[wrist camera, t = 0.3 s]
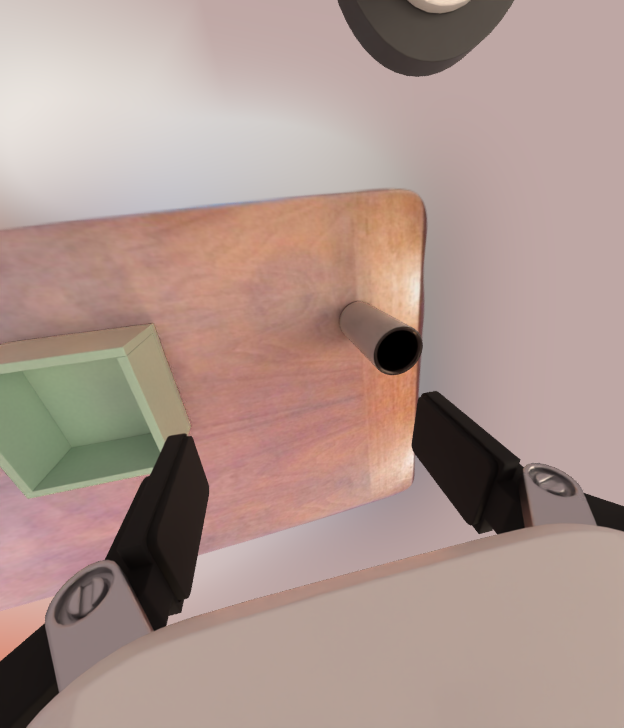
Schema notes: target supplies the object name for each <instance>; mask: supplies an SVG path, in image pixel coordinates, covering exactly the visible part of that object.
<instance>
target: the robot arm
mask: <svg viewBox="0 0 624 728" xmlns="http://www.w3.org/2000/svg"><path fill="white" fill-rule="evenodd" d="M407 1H409V2H410V3H411V4H412V5H414V6H415V7H417V8H419V9H421V10H424V11H426V12H430V13H439V14H441V13H446V12H451V11H454V10H456V9H458V8H460V7H462V6H464V5H466V4H467V3H468V2H469V1H470V0H407ZM412 449H413V452H414V453H415V455H416V456H417V457H418V458H419V460H420V461H421V463H422V464H423V465H424V466H425V468H426V469H427V471H428V472H429V473H430V475H431V476H432V477H433V479H434V480H435V481H436V483H437V484H438V485H439V487H440V488H441V489H442V491H443V492H444V493H445V495H446V496H447V497H448V499H449V500H450V501H451V503H452V504H453V505H454V507H455V508H456V509H457V511H458V512H459V513H460V515H461V516H462V517H463V519H464V520H465V521H466V523H468V524H469V525H472V526H473V527H474V528H475V530H476V531H477V532H478V534H481V533H485V532H489V531H492V529H493V530H494V531H495V532H496V533H497V534H498V535H494V536H489V537H485V538H481V539H477V540H474V541H470V542H466V543H462V544H459V545H454V546H450V547H447V548H443V549H439V550H435V551H431V552H428V553H424V554H420V555H416V556H412V557H408V558H405V559H401V560H398V561H393V562H390V563H386V564H383V565H378V566H375V567H371V568H367V569H364V570H360V571H356V572H352V573H348V574H345V575H341V576H337V577H334V578H330V579H326V580H323V581H319V582H315V583H311V584H308V585H304V586H301V587H297V588H293V589H289V590H286V591H282V592H279V593H275V594H271V595H268V596H264V597H260V598H257V599H253V600H249V601H246V602H242V603H239V604H236V605H232V606H229V607H225V608H222V609H218V610H215V611H212V612H208V613H205V614H201V615H198V616H195V617H191V618H189V619H186V620H183V621H180V622H177V623H174V624H171V625H168V626H166V625H167V620H168V616H170V615H174V614H178V613H181V611H182V606H183V602H184V599H187V598H188V597H189V595H190V592H191V588H192V583H193V577H194V572H195V566H196V561H197V556H198V551H199V545H200V540H201V535H202V529H203V524H204V518H205V513H206V508H207V502H208V497H209V485H208V481H207V479H206V476H205V473H204V470H203V467H202V464H201V461H200V458H199V455H198V452H197V449H196V446H195V443H194V440H193V438H192V436H187V434H186V433H183V434H177V435H171V436H168V437H167V439H166V441H165V443H164V446H163V448H162V450H161V452H160V454H159V457H158V459H157V461H156V463H155V465H154V468H153V470H152V472H151V474H150V476H148V477H146V478H145V479H144V480H143V481H142V483H141V485H140V487H139V489H138V491H137V493H136V495H135V498H134V500H133V502H132V504H131V506H130V508H129V510H128V512H127V514H126V516H125V519H124V521H123V523H122V525H121V527H120V529H119V531H118V533H117V535H116V537H115V540H114V542H113V544H112V546H111V548H110V550H109V552H108V554H107V556H106V558H105V560H103V561H98V562H95V563H93V564H90V565H88V566H87V567H85V568H83V569H82V570H80V571H79V572H77V573H76V574H75V575H74V576H73V577H71V578H70V579H69V580H68V581H67V582H66V583H65V584H64V585H63V586H62V587H61V589H60V590H59V591H58V592H57V593H56V595H55V597H54V598H53V600H52V601H51V603H50V605H49V607H48V610H47V613H46V615H45V624H43V625H42V626H41V627H40V628H39V629H38V630H36V631H35V632H34V633H33V634H32V635H31V636H30V637H28V638H27V639H26V640H25V641H24V642H22V643H21V644H20V645H19V646H18V647H17V648H15V649H14V650H13V651H12V652H11V653H10V654H8V655H7V656H6V657H5V658H4V659H3V660H1V661H0V728H624V506H621V505H618V504H615V503H612V502H609V501H606V500H603V499H600V498H597V497H594V496H591V495H588V494H585V493H583V490H582V489H581V487H580V485H579V484H578V483H577V482H576V481H575V480H574V479H573V478H572V477H570V476H569V475H568V474H566V473H565V472H563V471H561V470H559V469H557V468H555V467H552V466H549V465H545V464H540V463H531V464H528V465H526V466H525V467H523V466H521V465H520V464H519V462H520V459H519V458H518V457H517V456H515V455H514V454H513V453H511V452H510V451H509V450H508V449H507V448H506V447H504V446H503V445H502V444H501V443H500V442H498V441H497V440H496V439H494V438H493V437H492V436H491V435H490V434H488V433H487V432H486V431H485V430H484V429H483V428H481V427H480V426H479V425H478V424H476V423H475V422H474V421H473V420H472V419H470V418H469V417H468V416H467V415H466V414H464V413H463V412H462V411H461V410H459V409H458V408H457V407H456V406H455V405H453V404H452V403H451V402H450V401H449V400H447V399H446V398H445V397H444V396H443V395H441V394H440V393H439V392H437V391H433V392H427V393H423V394H422V395H421V397H419V399H418V403H417V410H416V417H415V424H414V431H413V438H412Z"/></svg>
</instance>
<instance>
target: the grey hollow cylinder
mask: <svg viewBox="0 0 624 728" xmlns="http://www.w3.org/2000/svg"><path fill="white" fill-rule="evenodd" d="M339 324H340V328H341V330H342V332H343V333H344V334H345V335H346V336H347V338H348V339H349V340H350V341H351V342H352V343H353V344H354V345H355V346H356V347H357V348H358V349H359V350H360V351H361V352H362V353H363V354H364V355H365V356H366V357H367V358H368V359H369V360H370V361H371V363H372V364H373V365H374V366H375V367H376V368H377V369H378V370H379V371H381V372H382V373H384V374H387V375H398V374H401V373H404V372H406V371H408V370H409V369H410V368H412V367H413V366H414V365H415V364H416V362H417V361H418V359H419V357H420V355H421V353H422V348H423V343H422V338H421V336H420V334H419V333H418V332H417V331H416V330H415V329H414V328H412V327H410V326H408V325H406V324H405V323H403V322H401V321H399V320H397V319H395V318H394V317H392V316H390V315H388V314H386V313H384V312H383V311H381V310H379V309H377V308H375V307H373V306H372V305H370V304H368V303H365V302H361V301H358V302H353V303H351V304H349V305H348V306H347V307H346V308H345V309H344V310H343V311H342V313H341V316H340V320H339Z"/></svg>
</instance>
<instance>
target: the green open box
mask: <svg viewBox="0 0 624 728" xmlns="http://www.w3.org/2000/svg"><path fill="white" fill-rule="evenodd" d="M190 428H191V424H190V422H189V419H188V416H187V414H186V411H185V408H184V405H183V403H182V400H181V397H180V395H179V392H178V389H177V386H176V384H175V381H174V378H173V376H172V373H171V370H170V367H169V365H168V362H167V359H166V357H165V354H164V351H163V348H162V346H161V343H160V340H159V338H158V335H157V332H156V329H155V327H154V324H153V323H151V324H143V325H136V326H128V327H120V328H113V329H105V330H97V331H90V332H82V333H74V334H67V335H59V336H51V337H44V338H36V339H28V340H21V341H13V342H5V343H3V344H0V467H1V468H2V469H3V471H4V472H5V473H6V474H7V475H8V476H9V478H10V479H11V480H12V481H13V482H14V483H15V485H16V486H17V487H18V488H19V489H20V490H21V492H22V493H24V495H25V496H26V497H27V498H28V499H30V498H35V497H40V496H45V495H50V494H54V493H59V492H64V491H69V490H74V489H79V488H84V487H88V486H93V485H98V484H103V483H108V482H113V481H118V480H123V479H127V478H132V477H137V476H142V475H147V474H151V472H152V470H153V468H154V465H155V463H156V461H157V459H158V457H159V454H160V452H161V450H162V448H163V446H164V443H165V441H166V439H167V437H168V436H171V435H177V434H183V433H186V434H187V436H188V433H189V431H190Z"/></svg>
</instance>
